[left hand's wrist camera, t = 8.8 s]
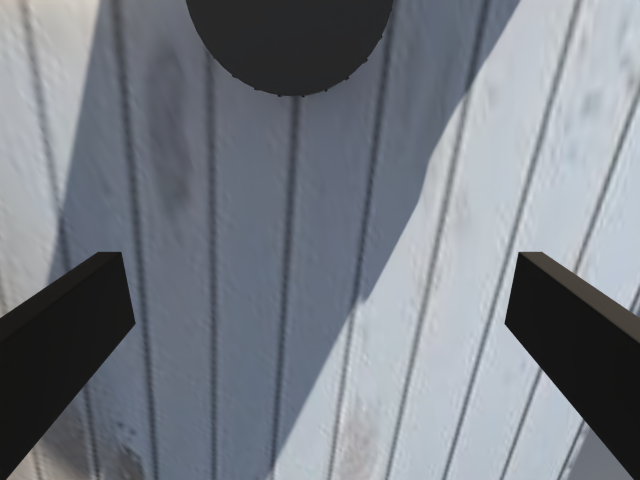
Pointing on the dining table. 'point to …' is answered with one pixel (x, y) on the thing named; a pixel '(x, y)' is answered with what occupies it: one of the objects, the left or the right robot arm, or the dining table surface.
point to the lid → (290, 40)
